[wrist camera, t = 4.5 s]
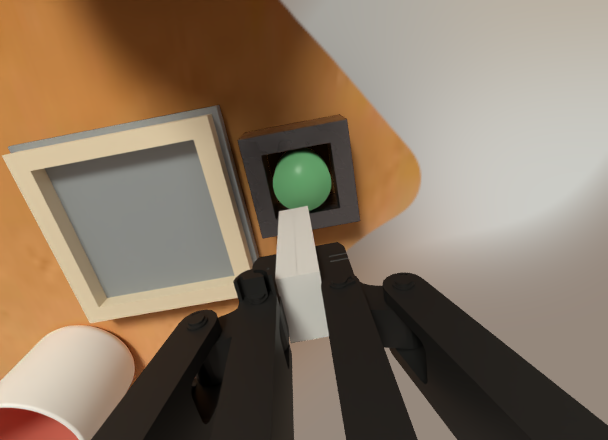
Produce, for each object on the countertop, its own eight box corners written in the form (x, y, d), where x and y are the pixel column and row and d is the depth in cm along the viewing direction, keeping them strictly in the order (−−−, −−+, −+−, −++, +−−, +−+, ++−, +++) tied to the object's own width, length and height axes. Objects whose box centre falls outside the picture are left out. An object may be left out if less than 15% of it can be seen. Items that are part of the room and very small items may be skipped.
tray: (102, 310, 34) (87, 328, 32) (19, 144, 28) (-8, 150, 25) (265, 281, 34) (263, 298, 31) (219, 104, 27) (211, 107, 25)
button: (280, 202, 29) (279, 216, 26) (269, 152, 28) (267, 160, 25) (331, 193, 29) (335, 205, 26) (322, 142, 27) (326, 149, 25)
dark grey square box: (266, 220, 31) (262, 238, 27) (244, 132, 28) (237, 140, 24) (352, 204, 31) (360, 220, 27) (339, 114, 28) (347, 119, 24)
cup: (124, 314, 35) (63, 399, 25) (149, 386, 38) (104, 483, 29) (28, 323, 35) (-68, 410, 25) (62, 393, 39) (-11, 492, 29)
